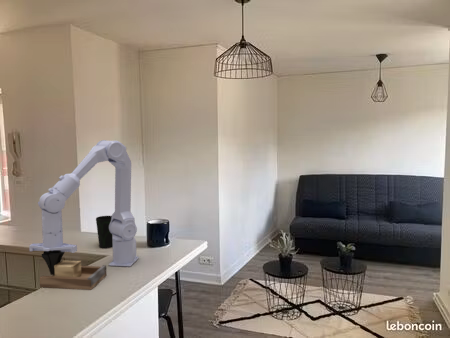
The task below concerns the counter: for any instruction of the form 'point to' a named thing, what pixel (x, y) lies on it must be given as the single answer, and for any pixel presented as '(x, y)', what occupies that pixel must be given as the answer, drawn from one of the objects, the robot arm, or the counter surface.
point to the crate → (68, 269)
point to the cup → (104, 231)
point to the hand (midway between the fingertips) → (54, 273)
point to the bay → (76, 279)
